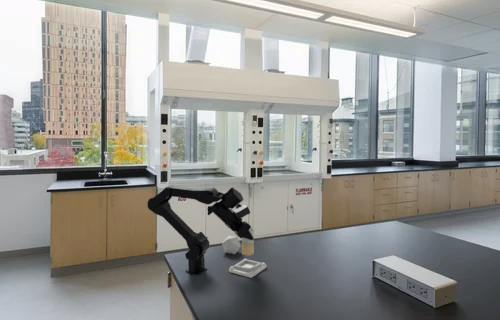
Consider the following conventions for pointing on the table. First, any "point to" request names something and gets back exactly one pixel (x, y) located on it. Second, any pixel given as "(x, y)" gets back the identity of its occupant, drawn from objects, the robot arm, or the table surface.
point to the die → (231, 244)
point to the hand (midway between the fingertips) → (250, 237)
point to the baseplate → (247, 268)
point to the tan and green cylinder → (248, 244)
